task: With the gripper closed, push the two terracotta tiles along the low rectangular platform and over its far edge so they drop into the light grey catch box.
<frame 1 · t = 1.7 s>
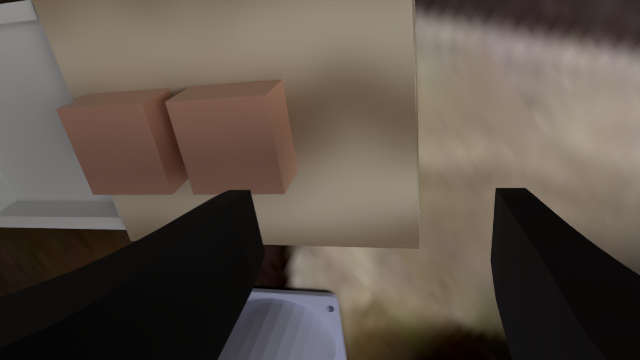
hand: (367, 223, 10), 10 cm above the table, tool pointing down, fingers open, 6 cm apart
low rectangular platform: (261, 103, 21), on the table
tile a: (245, 129, 18), point 3 cm above the table, touching low rectangular platform
tile b: (143, 134, 19), point 3 cm above the table, touching low rectangular platform
catch box: (48, 116, 24), on the table
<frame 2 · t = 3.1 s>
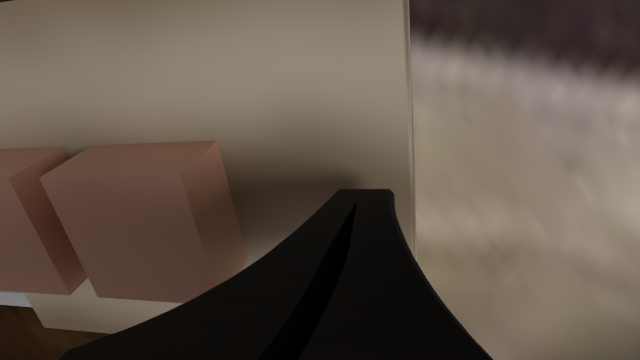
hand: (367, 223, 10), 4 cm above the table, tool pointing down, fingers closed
low rectangular platform: (208, 155, 16), on the table
tile a: (172, 204, 13), point 3 cm above the table, touching low rectangular platform
tile b: (39, 203, 14), point 3 cm above the table, touching low rectangular platform
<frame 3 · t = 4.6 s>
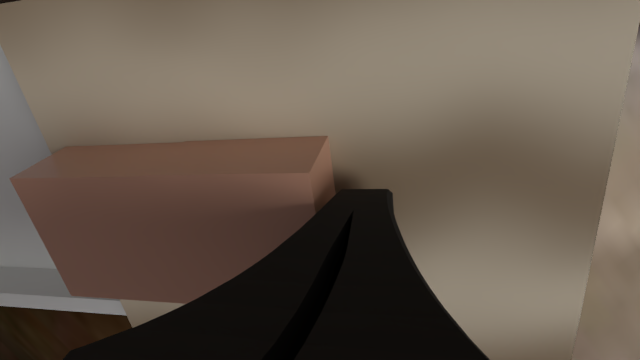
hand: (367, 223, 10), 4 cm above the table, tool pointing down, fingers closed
low rectangular platform: (322, 151, 15), on the table
tile a: (267, 204, 12), point 4 cm above the table, touching gripper
tile b: (145, 204, 13), point 4 cm above the table, touching low rectangular platform
catch box: (25, 161, 18), on the table
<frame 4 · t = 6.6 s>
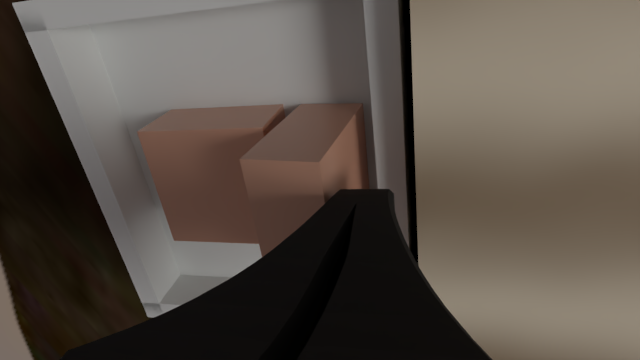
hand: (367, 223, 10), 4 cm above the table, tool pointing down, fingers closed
tile a: (351, 195, 12), point 3 cm above the table, tilted 96°, touching catch box, gripper
tile b: (213, 190, 13), point 3 cm above the table, tilted 180°, touching catch box
catch box: (260, 154, 15), on the table
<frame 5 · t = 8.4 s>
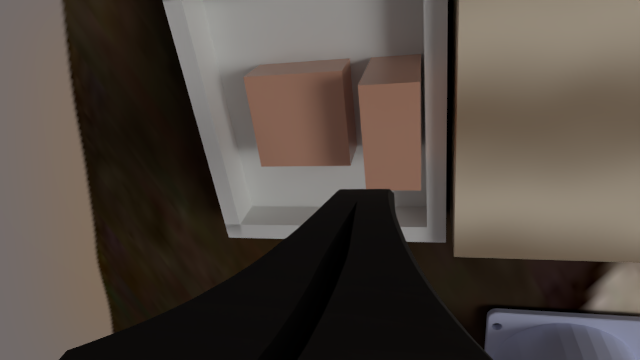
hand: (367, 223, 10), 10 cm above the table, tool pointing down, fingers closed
tile a: (421, 118, 16), point 3 cm above the table, tilted 90°, touching catch box
tile b: (298, 122, 17), point 3 cm above the table, tilted 180°, touching catch box
catch box: (325, 102, 20), on the table
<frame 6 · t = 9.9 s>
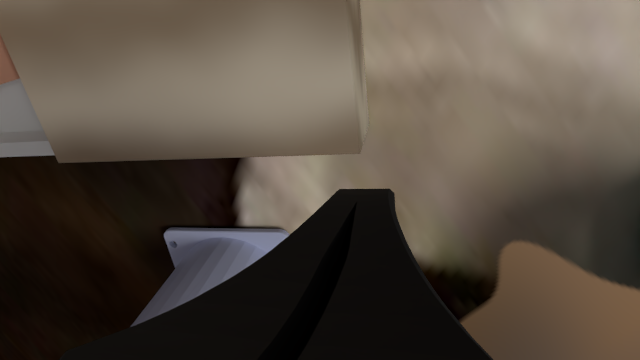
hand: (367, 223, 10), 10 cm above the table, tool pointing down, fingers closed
low rectangular platform: (195, 7, 19), on the table
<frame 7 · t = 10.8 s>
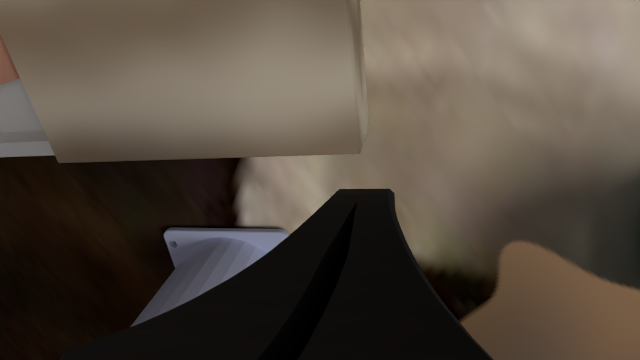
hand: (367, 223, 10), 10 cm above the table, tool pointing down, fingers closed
low rectangular platform: (195, 7, 19), on the table
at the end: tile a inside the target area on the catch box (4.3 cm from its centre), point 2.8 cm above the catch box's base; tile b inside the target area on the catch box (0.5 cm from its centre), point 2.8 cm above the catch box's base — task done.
